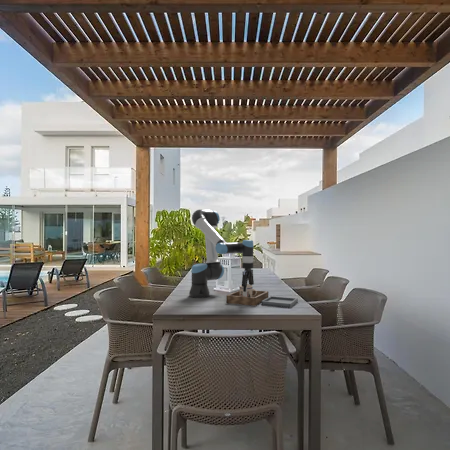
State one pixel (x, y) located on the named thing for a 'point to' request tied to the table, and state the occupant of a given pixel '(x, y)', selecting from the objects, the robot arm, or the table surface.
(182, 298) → the table surface
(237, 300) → the crate
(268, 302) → the tray
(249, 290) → the teacup with lid
